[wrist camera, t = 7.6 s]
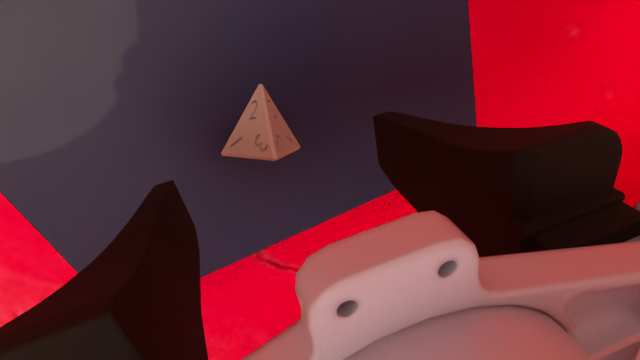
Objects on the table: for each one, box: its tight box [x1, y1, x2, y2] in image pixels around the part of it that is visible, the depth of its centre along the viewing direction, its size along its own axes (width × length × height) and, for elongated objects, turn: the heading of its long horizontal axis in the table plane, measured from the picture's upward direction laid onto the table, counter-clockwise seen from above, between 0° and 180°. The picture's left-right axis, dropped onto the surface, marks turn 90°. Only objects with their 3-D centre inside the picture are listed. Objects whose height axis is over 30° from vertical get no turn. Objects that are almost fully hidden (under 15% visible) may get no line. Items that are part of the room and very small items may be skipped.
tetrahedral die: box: [221, 84, 300, 161], centre depth 16 cm, size 4×3×3 cm
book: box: [0, 0, 477, 278], centre depth 17 cm, size 14×20×3 cm
